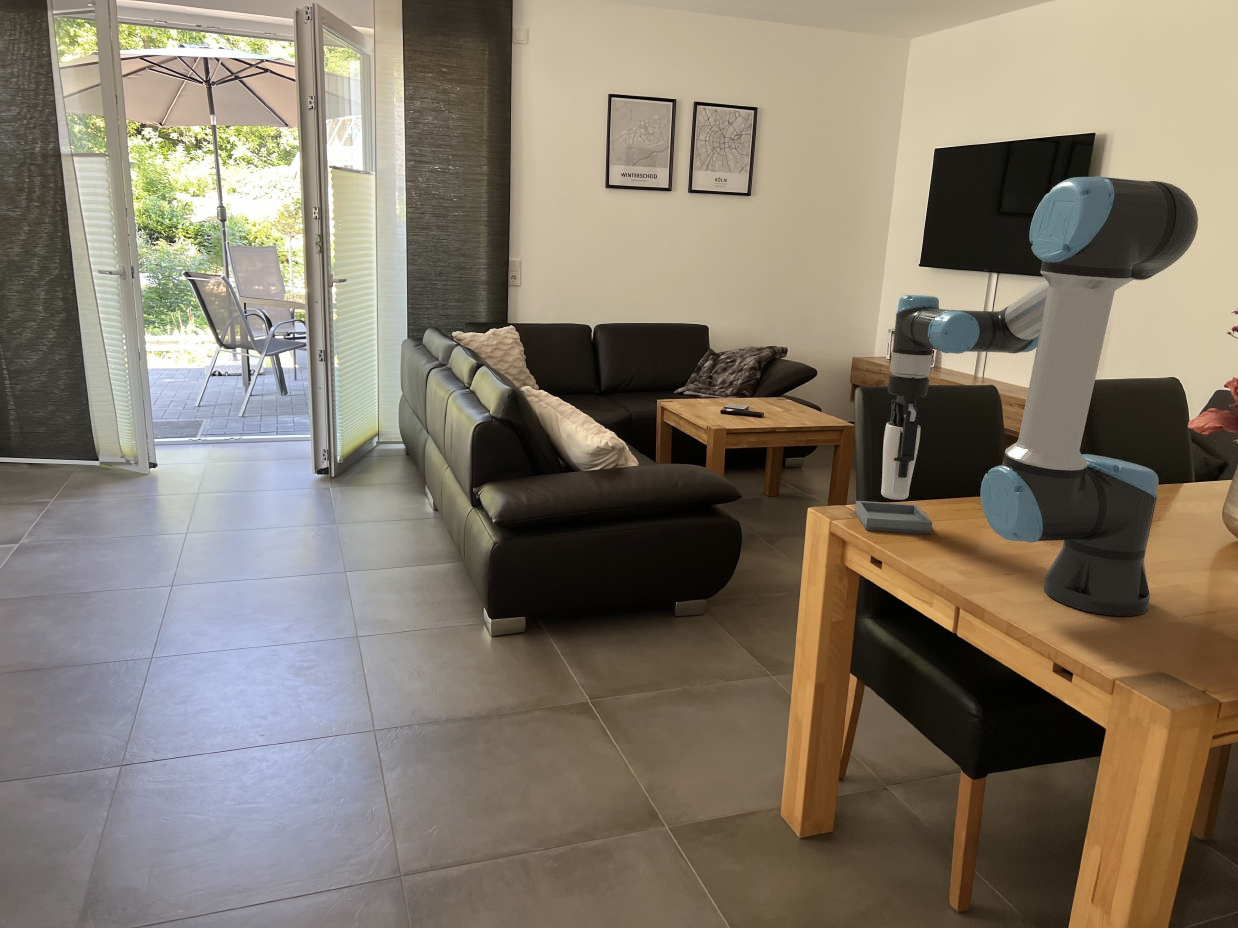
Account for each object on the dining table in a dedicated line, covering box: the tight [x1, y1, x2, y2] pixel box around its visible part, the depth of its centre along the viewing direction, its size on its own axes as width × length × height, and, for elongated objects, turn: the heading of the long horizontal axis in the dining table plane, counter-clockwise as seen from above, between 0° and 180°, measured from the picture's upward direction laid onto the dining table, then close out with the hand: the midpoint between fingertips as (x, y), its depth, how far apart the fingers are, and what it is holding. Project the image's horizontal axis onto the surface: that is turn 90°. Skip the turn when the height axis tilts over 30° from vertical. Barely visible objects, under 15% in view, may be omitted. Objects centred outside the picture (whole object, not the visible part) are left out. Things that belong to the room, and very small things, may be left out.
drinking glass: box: [880, 421, 921, 501], centre depth 177 cm, size 7×7×15 cm
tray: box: [854, 500, 933, 535], centre depth 180 cm, size 13×13×2 cm
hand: (895, 487), depth 179 cm, fingers closed on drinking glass, 6 cm apart
